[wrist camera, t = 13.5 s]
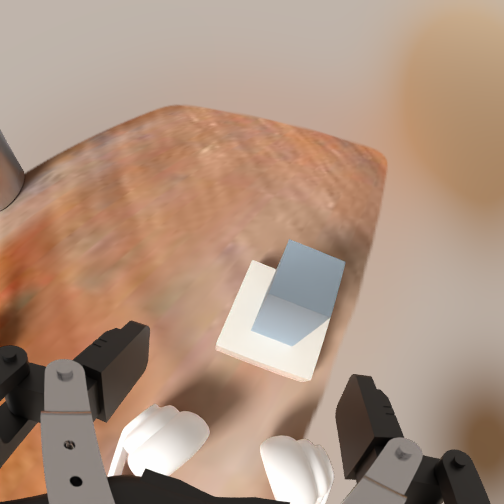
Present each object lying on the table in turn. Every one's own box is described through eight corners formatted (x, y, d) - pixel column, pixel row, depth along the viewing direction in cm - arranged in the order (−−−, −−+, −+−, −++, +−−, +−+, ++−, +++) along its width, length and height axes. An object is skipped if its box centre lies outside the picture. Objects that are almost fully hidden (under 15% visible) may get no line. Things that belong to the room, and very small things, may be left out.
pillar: (292, 346, 26) (330, 317, 18) (250, 330, 27) (268, 293, 18) (305, 307, 28) (345, 261, 19) (266, 291, 29) (289, 239, 20)
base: (215, 349, 28) (215, 344, 26) (249, 272, 33) (252, 259, 30) (301, 382, 28) (310, 380, 25) (327, 302, 32) (337, 293, 29)
